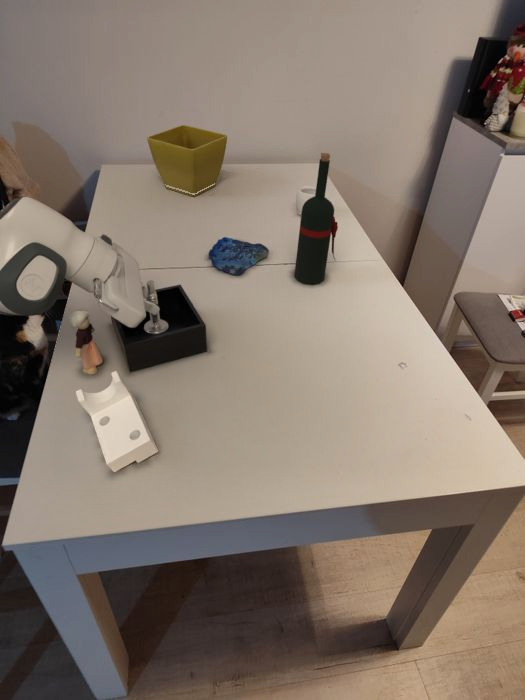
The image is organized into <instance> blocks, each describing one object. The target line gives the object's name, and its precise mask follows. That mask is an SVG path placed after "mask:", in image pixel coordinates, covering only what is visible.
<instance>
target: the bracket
mask: <svg viewBox="0 0 525 700" xmlns="http://www.w3.org/2000/svg"><path fill="white" fill-rule="evenodd" d="M110 375H111V377H112V378H111V383H110V384H109V385H108V386H107V387H106V388H105V389H103V390H101V391H98V392H87V391H85V390H83V389H82V388H80V389H78V390H76V391H75V394H76V398H77V400H78V404H79V405H81V407H82V408H83V409H84V410H85V411H86V413H87V414H88V415H89V416H90V418H91V421H92V424H93V427H94V430H95V433H96V436H97V439H98V442H99V446H100V449H101V451H102V454H103V457H104V460H105V463H106V465H107V467H108V468H109V469H110V470H112V472H113V473H116V472H118V471H119V470H122V469H123V468H124V467H126V466H128V465H130V464H132V463H133V462H136V463H137V464H140V463H141V462H142V461H145V460H146V459H148V458H150V457H152V456H153V455H155V454H157V453H158V452H159V449H158V447H157V445H156V442H155V441H154V438H153V436H152V433H151V431H150V429H149V427H148V425H147V422H146V420H145V418H144V415H143V413H142V411H141V409H140V407H139V404H138V402H137V399H136V397H135V396H134V395H133V393H132V391H131V390H130V389H129V387H128V385H127V384H126V383H125V381H124V379H123V378H122V377H121V375H120V374H119V373H118V371H117V370H115V371H112V372H110Z"/></svg>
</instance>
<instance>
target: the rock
mask: <svg viewBox="0 0 525 700" xmlns="http://www.w3.org/2000/svg"><path fill="white" fill-rule="evenodd" d="M269 252H270V250H269V248H268V247H267V246H265V245H263V244H262V243H260V242H259V243H250V242H248V241H243V240H239V239H233V238H231V237H228V236H227V237H226V236H224V237H222V238H221V239H218V240H217V242H216V243H214V244H213V245H212V248H211V249H210V250H209V252H208V258H209V259H210V261H211V265H212V266H213V267H216V268H217V269H219V270H220V271H224V272H226V273H229V274H232V275H234V276H240V275H243V274H244V273H245V272H246V271H247V269H249V268H251V267H253V265H255V264H257V262H259V261H261V260H262V259H265V258H267V256H268V254H269Z"/></svg>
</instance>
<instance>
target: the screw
mask: <svg viewBox="0 0 525 700" xmlns="http://www.w3.org/2000/svg"><path fill="white" fill-rule="evenodd" d="M146 286H147V288H148V293H147V295H148V296H147V298H148V301H149V302H152V301H154V302H156V303H157V304H158V299H157V294H156V291H155V290H156V288H155V281H153V280H150V279H149V280H148V281H147V282H146ZM144 330H145V332H146V333H148V334H150V335H151V336H154V335H158V334H162V333H164V332H166V331H167V330H168V323H167V322H166V321H164V320H161V319H160V316H159V312H158V313H157V314H155V315H153V314H152V313H150V321H148V322H147V323H146V324H145V325H144Z"/></svg>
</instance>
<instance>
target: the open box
mask: <svg viewBox="0 0 525 700" xmlns="http://www.w3.org/2000/svg"><path fill="white" fill-rule="evenodd" d="M155 291H156V294H157V298H158V305H159V308H160V310H159V316H160V319H161V320H164V321H166V322H167V323H168V330H167V331H166V332H164V333H162V334H158V335H154V336H151V335H150V334H148V333H146V332H145V330H144V325H145V324H146V323H147V322H148V321H150V312H148V311H146V317H145V318H144V319H143V321H142V322H141V323H140V324H139V325H138V326H137V327H135V328H130V327H128V326H126V325H124V324H123V323H121V322H120V321H118V320H117V319H115V318H114V317H112V316H111V315H109V316H110V320H111V321H110V322H111V325H112V328H113V331H114V334H115V337H116V340H117V342H118V345H119V348H120V351H121V353H122V355H123V358H124V361H125V364H126V366H127V369H128V372H129V373H134V372H138V371H141V370H145V369H149V368H152V367H156V366H161V365H163V364H166V363H171V362H174V361H179V360H182V359H185V358H186V359H187V358H189V357H193V356H196V355H200V354H203V353H207V352H208V341H207V325H206V323H205V322H204V320H203V319H202V317H201V316H200V313H199V312H198V311H197V309H196V306H194V304H193V302H192V301H191V299H190V297H189V296H188V294H187V293H186V291H185V289H184V288H183V286H182V284H175V285H172V286H167V287H161V288H157V289H156V288H155Z"/></svg>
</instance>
